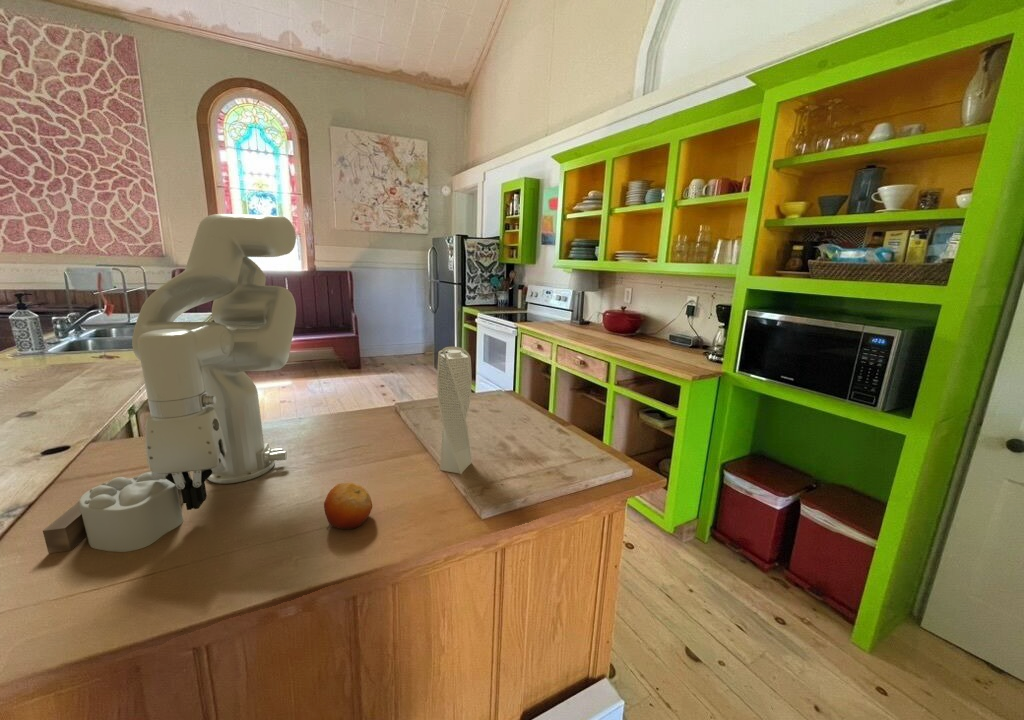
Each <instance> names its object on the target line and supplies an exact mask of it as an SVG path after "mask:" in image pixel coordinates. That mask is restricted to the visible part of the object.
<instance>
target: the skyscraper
mask: <svg viewBox="0 0 1024 720" xmlns="http://www.w3.org/2000/svg"><path fill="white" fill-rule="evenodd" d="M436 373H437V375H436V377H437V378H436V381H437V382H436V383H437V384H436V385H437V386H436V387H437V388H436V389H437V390H436V391H437V401H438V406H439V407H438V408H439V414H440V418H441V419H440V420H441V423H442V433H441V434H442V435H441V447H440V448H441V449H440V461H439V471H445V472H449V473H450V472H451V473H453V474H454V473H455V474H459V475H463V472H464V471H466V469H467V468H468V467H469V466H470V465H471V464H472V463H473V461H472V452H471V442H470V435H469V430H468V429H469V428H468V423H467V417H468V412H469V410H470V403H471V397H472V396H471V395H472V382H473V379H472V378H473V377H472V375H473V374H472V360H471V355H470V353H469V352H468V351H467V350H466V349H465V348H462V347H461V346H446V347H444V348H442V349H441V350H439V351H438V352H437V370H436Z"/></svg>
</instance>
